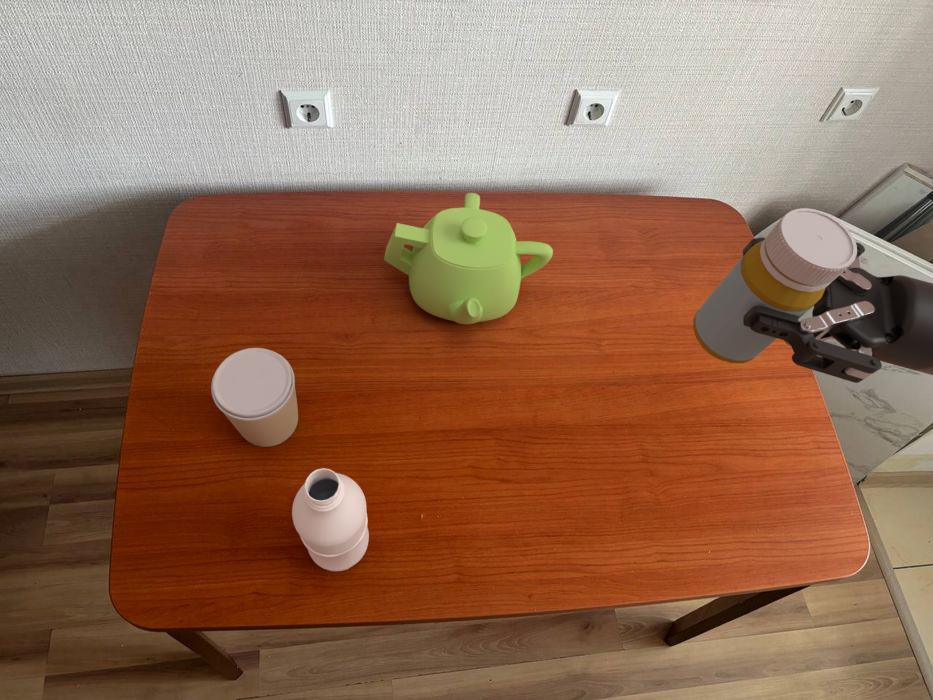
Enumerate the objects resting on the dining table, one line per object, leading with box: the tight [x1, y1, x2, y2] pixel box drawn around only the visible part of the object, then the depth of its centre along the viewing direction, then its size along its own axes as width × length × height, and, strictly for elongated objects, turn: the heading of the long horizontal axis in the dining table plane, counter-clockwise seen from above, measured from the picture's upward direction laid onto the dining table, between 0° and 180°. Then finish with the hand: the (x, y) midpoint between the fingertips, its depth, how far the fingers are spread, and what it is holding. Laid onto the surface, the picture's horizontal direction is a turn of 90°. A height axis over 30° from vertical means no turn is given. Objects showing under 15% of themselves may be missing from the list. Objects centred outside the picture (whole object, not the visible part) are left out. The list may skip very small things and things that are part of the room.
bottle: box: [692, 207, 857, 364], centre depth 53 cm, size 7×7×15 cm
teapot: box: [383, 192, 554, 326], centre depth 87 cm, size 19×20×14 cm
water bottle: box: [291, 467, 370, 572], centre depth 62 cm, size 7×7×25 cm
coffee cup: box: [210, 347, 299, 448], centre depth 74 cm, size 9×9×12 cm
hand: (747, 280), depth 52 cm, fingers closed on bottle, 7 cm apart
